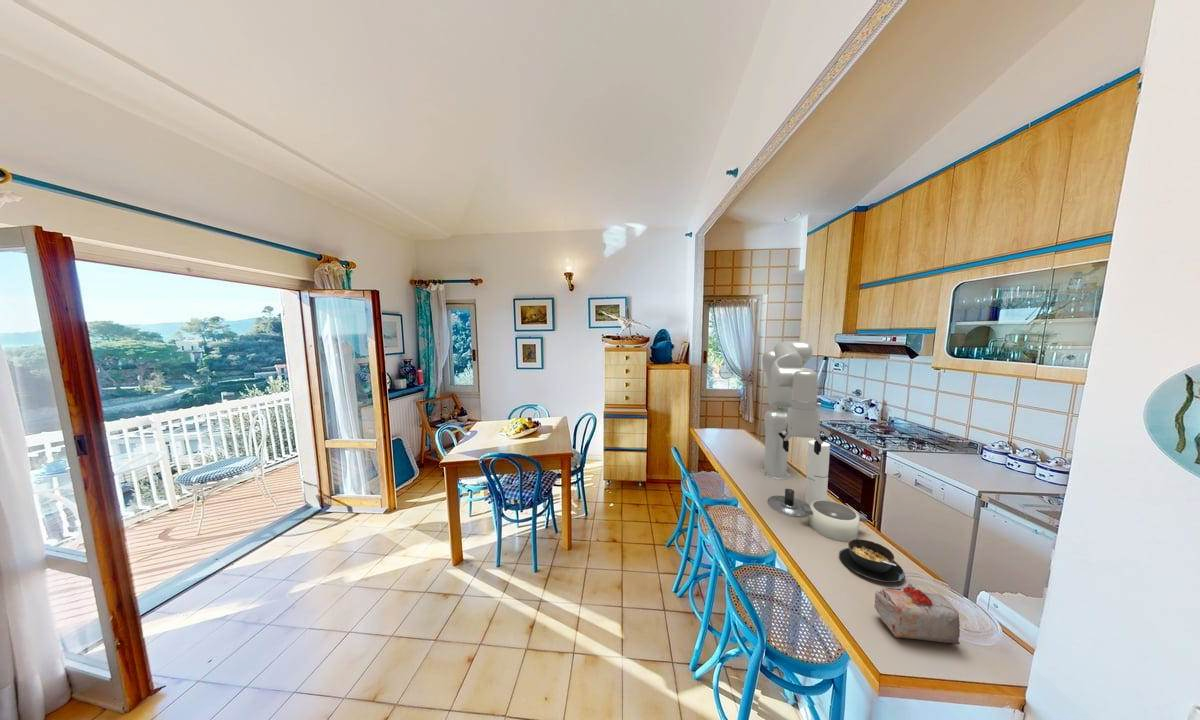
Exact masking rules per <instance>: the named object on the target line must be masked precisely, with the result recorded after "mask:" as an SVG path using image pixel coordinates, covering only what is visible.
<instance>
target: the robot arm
mask: <svg viewBox="0 0 1200 720" xmlns="http://www.w3.org/2000/svg"><path fill="white" fill-rule="evenodd" d="M812 356H813V348H812V345H811V344H810V343H809V342H807V341H797V340H796V341H795V340H794V341H793V340H791V341H790V340H789V341H788V340H787V341H781V342H778V343H776V344H775V346H774V347H773V349H772V350H767V351H764V352H763V354H762V360H761V361H762V362H761V363H762V368H763V371H764V374H765V376H766V386H767V387H766V391H767V392H766V393H767V395H766V396H767V404H768V405H769V406H771V407H775V408H785V409H786V408H787V410H785V409H784V410H782V409H770V410H767V411H766V412H765V413H764V417H763V418H764V419H763V420H764V428H765V442H764V445H765V447H764V466H763V467H762V468H763V469H762V468H760V473H761V472H762V473H763V474H764V475H766V476H768V477H767V478H769V477H770V478H769V479H772V478H773V480H777V479H779V480H778V481H787V480H789V479H791V474H790V473H789V472H788V471H787V470H788V453H789V451H790V450H789V448H790V446H789V445H790V441H789V439H791V437H792V438H803V439H804V438H806V439H814V440H816V441H815V442H814V452H815V453H816V454H817V455H819V452H821V444H822V443H823V442H826V441H827V440H828V438H829V437H830V435H831V434H832V432H831V431H830V430H829V429H827V428H824V427H823V426H821V425H820V424H821V421H820V413H819V410H818V408H820V407H822V403H821V402H818V397H817V396H818V383H819V381H818V379H819V376H818V375H819V374H818V373H817V372H816V371H815V370H813V368H806V367H805V366H806V365H807V363H808V362H809V361H811V359H812ZM784 432H785V433H784ZM821 432H822V433H823V434H822V435H821V434H820V433H821ZM820 435H821V436H820ZM762 473H761V474H762ZM763 474H762V475H763ZM764 475H763V476H764ZM766 476H765V477H766ZM786 479H787V480H786Z"/></svg>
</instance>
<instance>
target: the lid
mask: <svg viewBox="0 0 1200 720" xmlns="http://www.w3.org/2000/svg"><path fill="white" fill-rule="evenodd" d="M766 501H767V504H768V506H769V507H770V508H771V509H773V510H774V511H775V512H777V513H780V514H783V515H785V516H789V517H794V518H807V517H810V514H805V513H804V511H803V506H805V507H810V504H808V503H807V502H804V501H802V500H801V499H798V498H795V490H793V488H792V489H791V488H784V495H773V496H770V497H768V498H767V500H766Z"/></svg>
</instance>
